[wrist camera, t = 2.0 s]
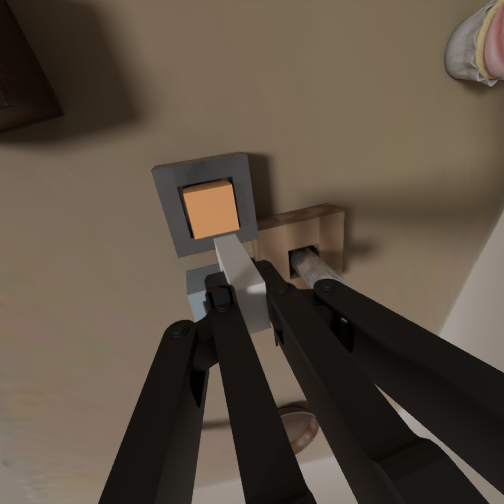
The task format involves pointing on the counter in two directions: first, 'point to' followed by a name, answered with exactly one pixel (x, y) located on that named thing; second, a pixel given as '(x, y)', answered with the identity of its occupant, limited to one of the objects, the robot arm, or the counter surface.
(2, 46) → the manual coffee grinder
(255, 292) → the robot arm
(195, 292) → the blue square collar
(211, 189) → the orange square block
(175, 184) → the housing
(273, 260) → the socket block
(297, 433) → the plant saucer
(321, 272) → the peg
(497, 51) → the cupcake
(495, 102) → the counter surface
